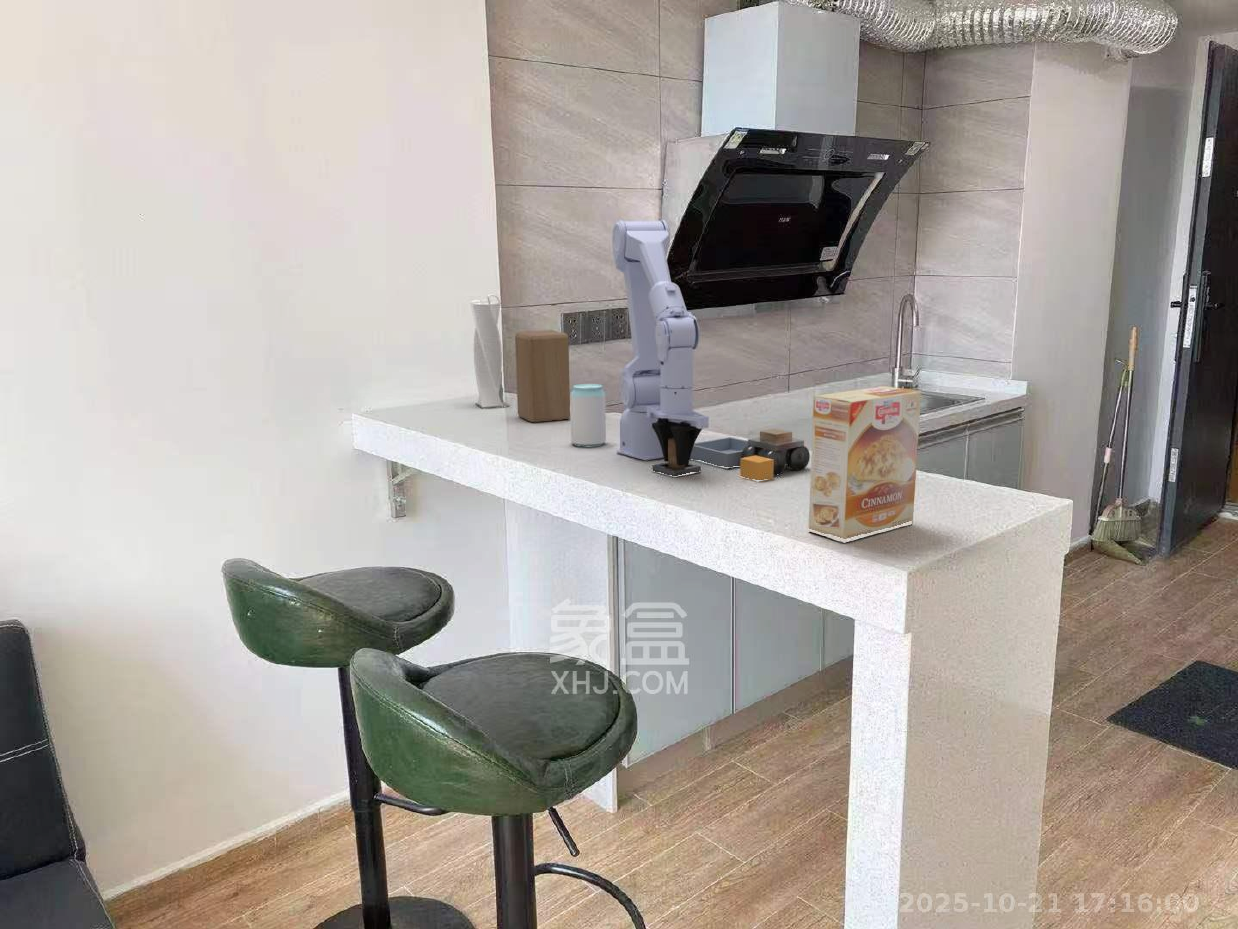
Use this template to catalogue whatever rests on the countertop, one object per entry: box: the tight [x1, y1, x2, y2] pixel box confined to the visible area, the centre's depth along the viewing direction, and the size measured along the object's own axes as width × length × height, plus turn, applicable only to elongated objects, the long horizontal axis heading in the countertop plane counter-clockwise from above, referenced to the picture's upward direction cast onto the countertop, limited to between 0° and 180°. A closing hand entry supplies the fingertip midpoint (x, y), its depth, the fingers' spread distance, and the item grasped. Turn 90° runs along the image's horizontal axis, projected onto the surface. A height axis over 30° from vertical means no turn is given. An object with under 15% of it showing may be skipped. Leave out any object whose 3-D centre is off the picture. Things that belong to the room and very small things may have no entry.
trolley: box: [741, 428, 811, 476], centre depth 173 cm, size 7×10×7 cm
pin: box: [668, 438, 685, 470], centre depth 172 cm, size 3×3×6 cm
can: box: [570, 383, 607, 447], centre depth 196 cm, size 7×7×12 cm
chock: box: [739, 455, 774, 480], centre depth 167 cm, size 4×4×4 cm
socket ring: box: [651, 462, 702, 476], centre depth 172 cm, size 6×6×1 cm
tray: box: [690, 436, 766, 467], centre depth 181 cm, size 11×11×3 cm
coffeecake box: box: [807, 385, 922, 539], centre depth 136 cm, size 15×7×20 cm, turn 126°
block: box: [514, 329, 571, 423], centre depth 224 cm, size 10×10×20 cm
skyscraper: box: [470, 293, 511, 409], centre depth 241 cm, size 8×8×28 cm
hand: (676, 462), depth 172 cm, fingers closed on pin, 3 cm apart
